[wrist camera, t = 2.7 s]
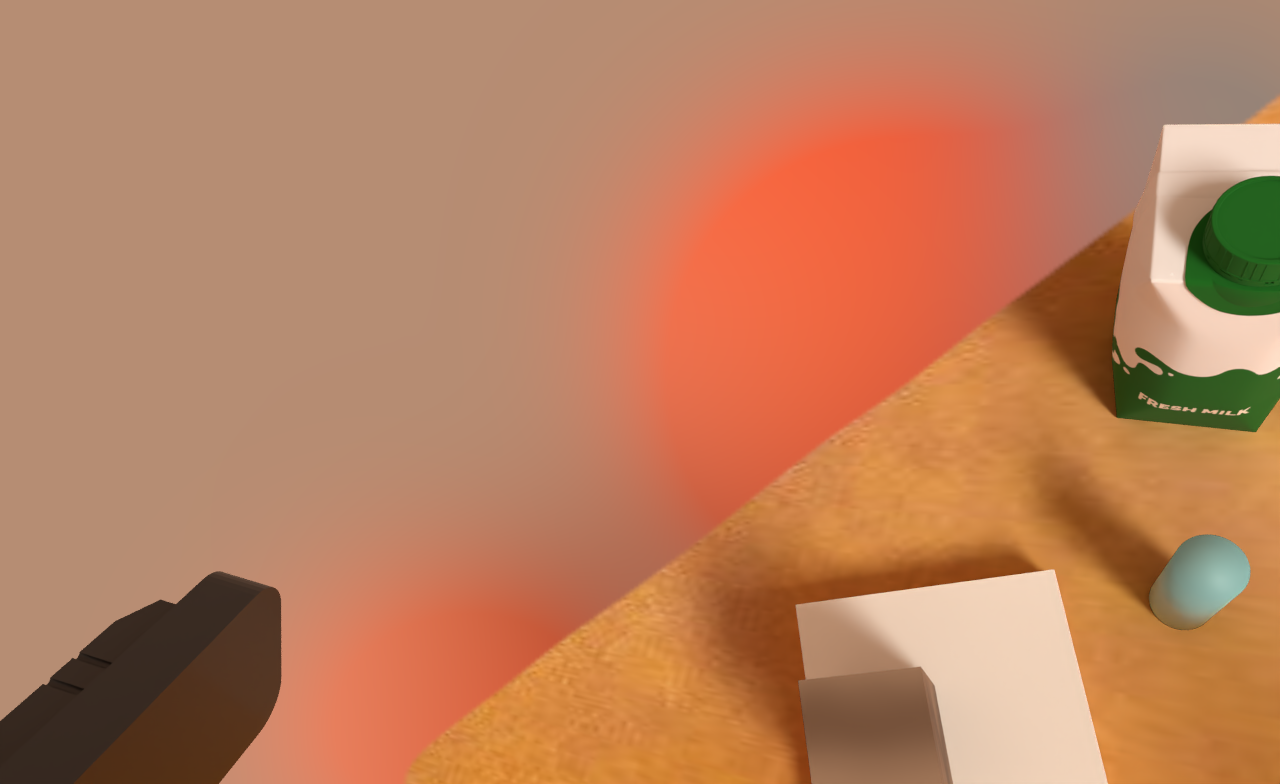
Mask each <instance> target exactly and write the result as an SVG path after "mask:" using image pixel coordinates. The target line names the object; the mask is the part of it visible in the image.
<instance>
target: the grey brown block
mask: <svg viewBox="0 0 1280 784" xmlns="http://www.w3.org/2000/svg"><path fill="white" fill-rule="evenodd" d="M798 684H799V692H800V699H801V707H802V715H803V722H804V730H805V737H806V745H807V752H808V760H809V767H810V775H811V783H812V784H953V780H952V775H951V769H950V764H949V759H948V754H947V748H946V743H945V738H944V732H943V727H942V722H941V717H940V711H939V706H938V701H937V695H936V690H935V685H934V684H933V683H932V681H931V680H930V678H929V677H928V676H927V674H926V673H925V672H924V670H923V669H922V668H921V667H913V668H904V669H895V670H886V671H877V672H868V673H860V674H851V675H842V676H833V677H824V678H816V679H807V680H798Z"/></svg>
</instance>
